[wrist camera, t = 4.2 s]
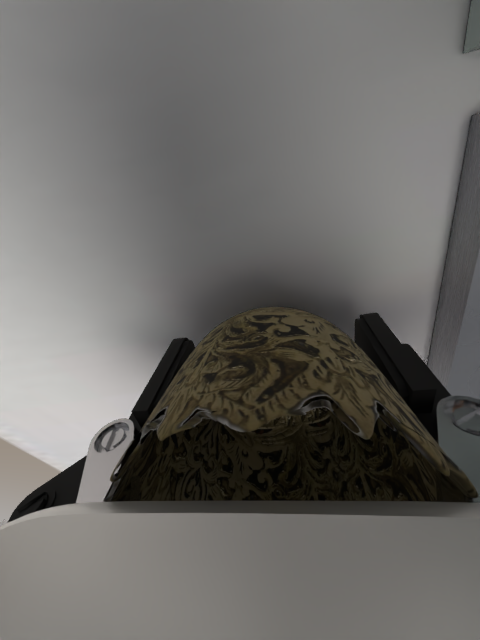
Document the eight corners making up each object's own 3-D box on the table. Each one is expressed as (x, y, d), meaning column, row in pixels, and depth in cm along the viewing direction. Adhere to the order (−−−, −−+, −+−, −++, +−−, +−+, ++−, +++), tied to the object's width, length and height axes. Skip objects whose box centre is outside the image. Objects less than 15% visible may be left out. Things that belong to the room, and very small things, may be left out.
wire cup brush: (286, 218, 9) (336, 336, 3) (386, 342, 12) (559, 585, 5) (166, 328, 12) (39, 518, 6) (264, 410, 15) (261, 618, 8)
